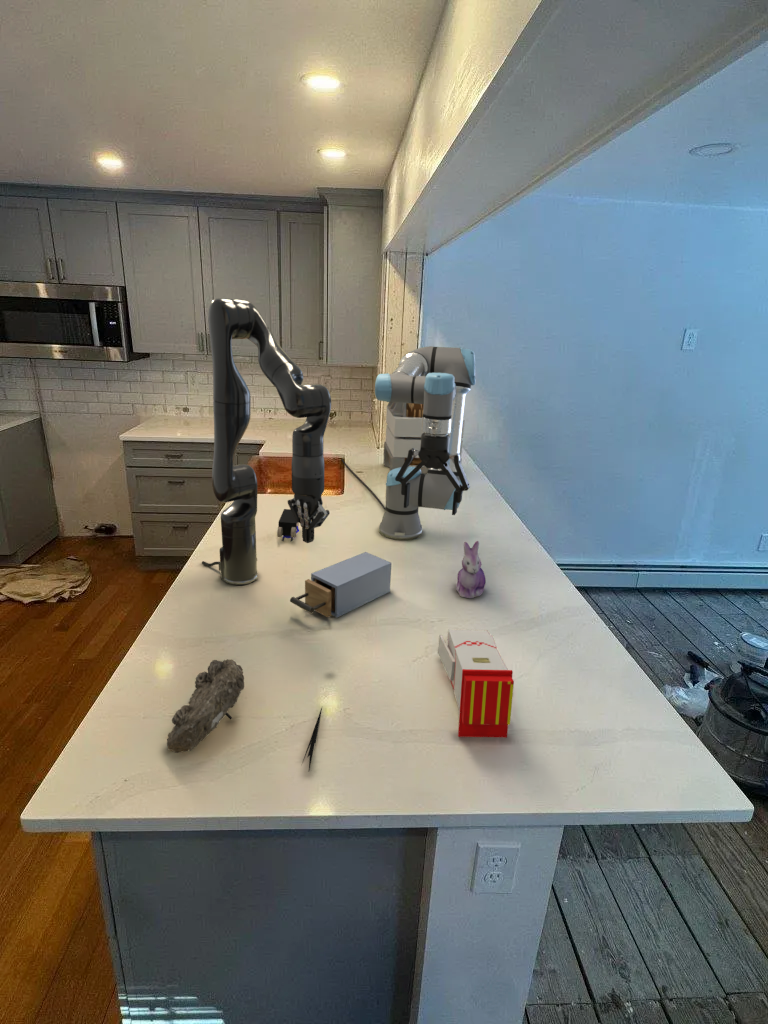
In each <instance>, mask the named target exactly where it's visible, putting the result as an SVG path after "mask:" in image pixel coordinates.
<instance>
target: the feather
mask: <svg viewBox="0 0 768 1024" xmlns="http://www.w3.org/2000/svg"><path fill="white" fill-rule="evenodd" d="M329 675H330V676H331V675H332V674H331V673H330V674H329ZM322 710H323V707H321V708H320V710H319V713H318V716H317V719H316V723H315V725H314V728H313V731H312V733H311V737H310V739H309V742H308V745H307V748H306V751H305V754H304V757H303V760H302V763H301V767H302V765H303V763H304V761H305V758H308V759H309V760H308V762H307V763H308V764H307V766H308V771H310V770H311V766H312V765H311V764H312V760H313V757H315V756H314V755H315V751H316V749H315V746H317V739H318V733H319V729H320V722H321V717H322V712H323V711H322ZM313 754H314V755H313ZM306 755H307V757H306Z"/></svg>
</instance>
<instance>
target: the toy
mask: <svg viewBox="0 0 768 1024" xmlns="http://www.w3.org/2000/svg"><path fill="white" fill-rule="evenodd" d="M446 640H447V643H446V641H445V639H444V636H443V635H442V634H439V637H438V646H437V656H438V657H439V659H440V661H441V663H442V666H443V668H444V670H445V672H446V674H447V677H448V679H449V681H450V684H451V687H452V690H453V693H454V697H455V701H456V705H457V708H458V711H459V714H458V715H459V716H458V730H457V731H458V732H457V737H458V738H508V731H509V726H510V725H511V717H512V707H513V697H514V696H513V695H514V684H515V680H514V679H513V673H514V671H513V670H512V669H508V667H507V665H506V662H505V661H504V659H503V658H502V655H501V653H500V651H499V649H498V647H497V643H496V639H495V637H494V635H493V634H491V632H490V631H489V629H467V628H466V629H465V628H463V629H461V628H460V629H459V628H448V630H447V639H446Z"/></svg>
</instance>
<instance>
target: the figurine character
mask: <svg viewBox="0 0 768 1024" xmlns="http://www.w3.org/2000/svg"><path fill="white" fill-rule="evenodd" d="M297 514H298V513H297ZM277 523H278V525H277V526H278V527H277V531H276V537H277V538H281V542H285V539H290V540H289V541H290V542H291V543H292V542H293V540H294V539H295V538H296V537H297V534H298V533H299V532H300V528H299V525H300V523H297V522H296V520H295V518H294V516H293V514H292V511H291V509H290V508H289V509H288V508H284V509H283V510H282V512H281V515H280V518H279V519H278V522H277Z"/></svg>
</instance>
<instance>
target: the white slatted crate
mask: <svg viewBox="0 0 768 1024" xmlns="http://www.w3.org/2000/svg"><path fill="white" fill-rule="evenodd" d="M387 403H388V404H387V405H386V413H385V414H386V415H385V423H386V428H385V438H384V442H383V466H384V467H388V468H389V472H390V471H391V470H393V469H396V468H400V467H402V466H403V464H404V462H405V461H406V459H407V457H408V451H409V450H410V449H412V448H414V449H415V450H418V451H420V448H421V435H422V434H423V433H424V432H422V417H423V406H424V404H414V403H399V402H387ZM464 429H465V419H464V418H463V423H462V433H461V443H460V453H459V454H460V459H461V463H462V461H463V460H462V453H463V442H464V441H463V440H462V439H463V438H464V431H465V430H464ZM420 462H421V459H420V458H419V456H418V455H417V456H416V457H415V458H413V460H412V461H411V463H410V465H409V466H408V467H416V466H417V465H418V464H419V463H420Z"/></svg>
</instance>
